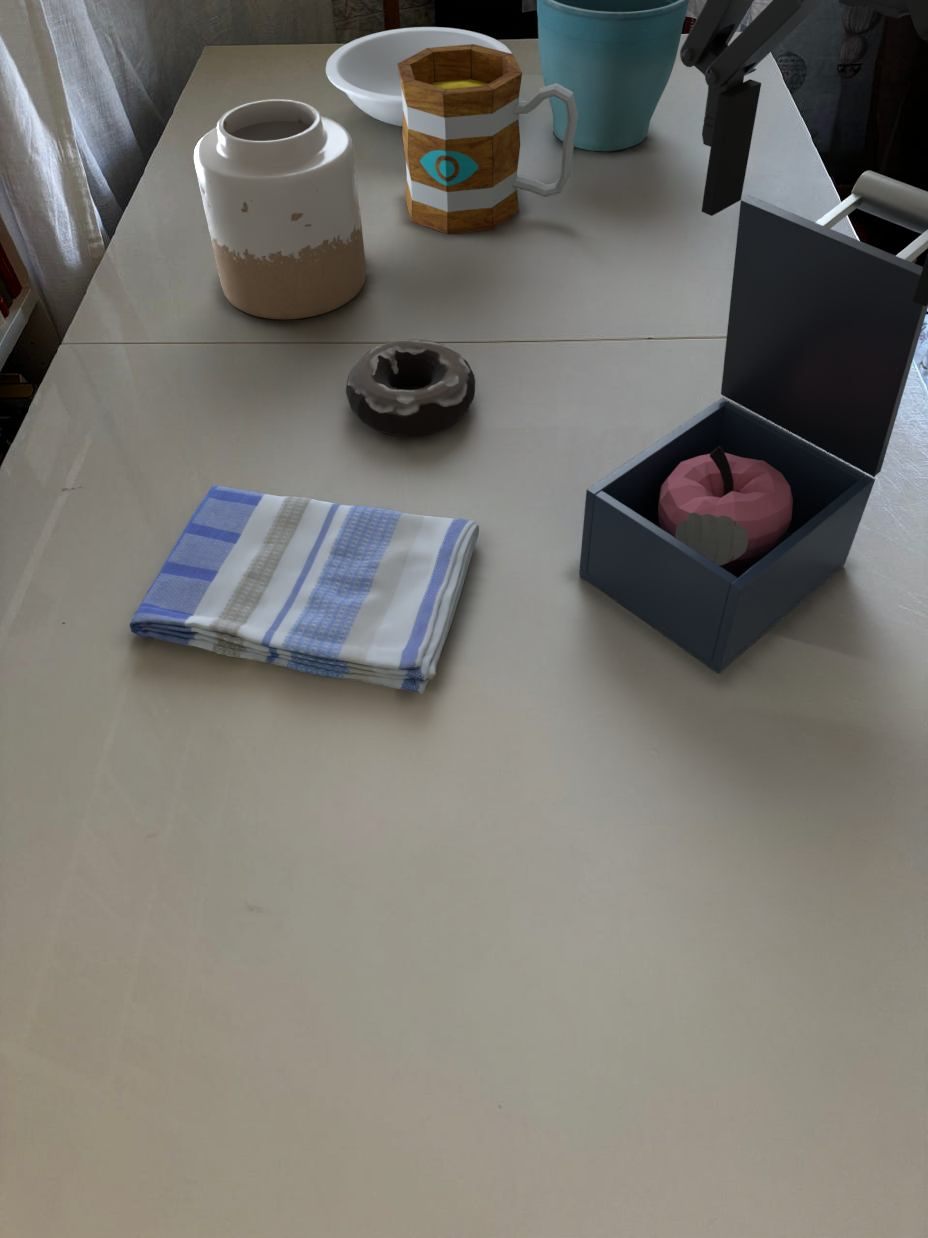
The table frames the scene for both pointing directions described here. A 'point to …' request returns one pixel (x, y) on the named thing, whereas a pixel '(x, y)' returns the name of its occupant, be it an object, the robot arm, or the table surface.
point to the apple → (726, 507)
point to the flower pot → (608, 64)
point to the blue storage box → (688, 581)
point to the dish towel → (313, 586)
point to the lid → (826, 320)
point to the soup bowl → (390, 65)
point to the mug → (469, 137)
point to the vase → (282, 209)
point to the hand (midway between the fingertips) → (820, 247)
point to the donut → (417, 407)
